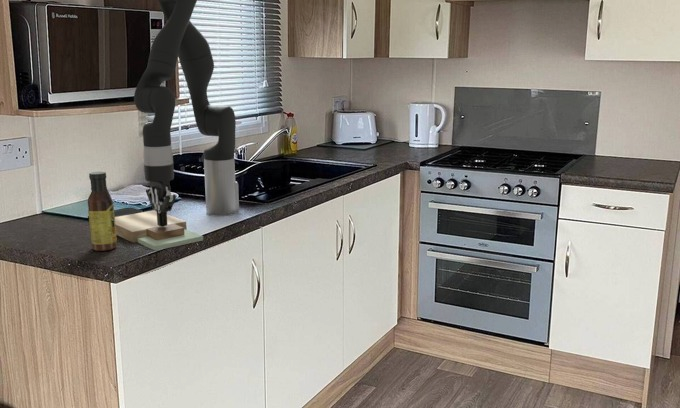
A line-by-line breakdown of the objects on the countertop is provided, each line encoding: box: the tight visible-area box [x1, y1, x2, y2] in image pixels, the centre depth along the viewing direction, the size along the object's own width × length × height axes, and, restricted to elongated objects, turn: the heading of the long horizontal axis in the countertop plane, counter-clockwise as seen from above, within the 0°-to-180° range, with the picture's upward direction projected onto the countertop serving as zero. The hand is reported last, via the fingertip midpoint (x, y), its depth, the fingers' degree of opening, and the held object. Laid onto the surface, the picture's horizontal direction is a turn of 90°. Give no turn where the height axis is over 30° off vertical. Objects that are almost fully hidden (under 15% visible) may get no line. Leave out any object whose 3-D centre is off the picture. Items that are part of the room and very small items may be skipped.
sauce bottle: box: [87, 171, 118, 252], centre depth 175 cm, size 6×6×20 cm
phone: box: [87, 206, 143, 219], centre depth 210 cm, size 8×1×15 cm
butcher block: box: [115, 209, 188, 244], centre depth 193 cm, size 16×18×3 cm
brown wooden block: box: [146, 224, 185, 241], centre depth 184 cm, size 8×6×2 cm
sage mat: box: [137, 229, 204, 251], centre depth 183 cm, size 14×10×1 cm
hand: (162, 225), depth 185 cm, fingers closed
